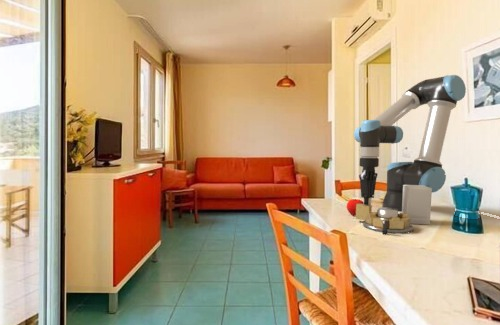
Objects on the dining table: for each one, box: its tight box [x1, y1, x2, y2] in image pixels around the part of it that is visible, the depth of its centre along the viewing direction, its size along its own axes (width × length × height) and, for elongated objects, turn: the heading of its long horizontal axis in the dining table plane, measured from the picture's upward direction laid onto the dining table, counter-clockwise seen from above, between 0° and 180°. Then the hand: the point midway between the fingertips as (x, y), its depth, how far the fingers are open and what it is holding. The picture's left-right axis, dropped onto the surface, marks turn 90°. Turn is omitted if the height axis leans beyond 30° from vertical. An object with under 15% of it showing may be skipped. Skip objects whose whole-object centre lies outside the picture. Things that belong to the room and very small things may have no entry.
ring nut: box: [355, 204, 411, 229], centre depth 129 cm, size 20×15×6 cm
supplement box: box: [401, 185, 433, 226], centre depth 136 cm, size 9×9×15 cm
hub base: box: [362, 207, 414, 236], centre depth 127 cm, size 20×18×7 cm
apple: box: [346, 198, 364, 217], centre depth 147 cm, size 8×8×7 cm
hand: (367, 212), depth 139 cm, fingers closed
